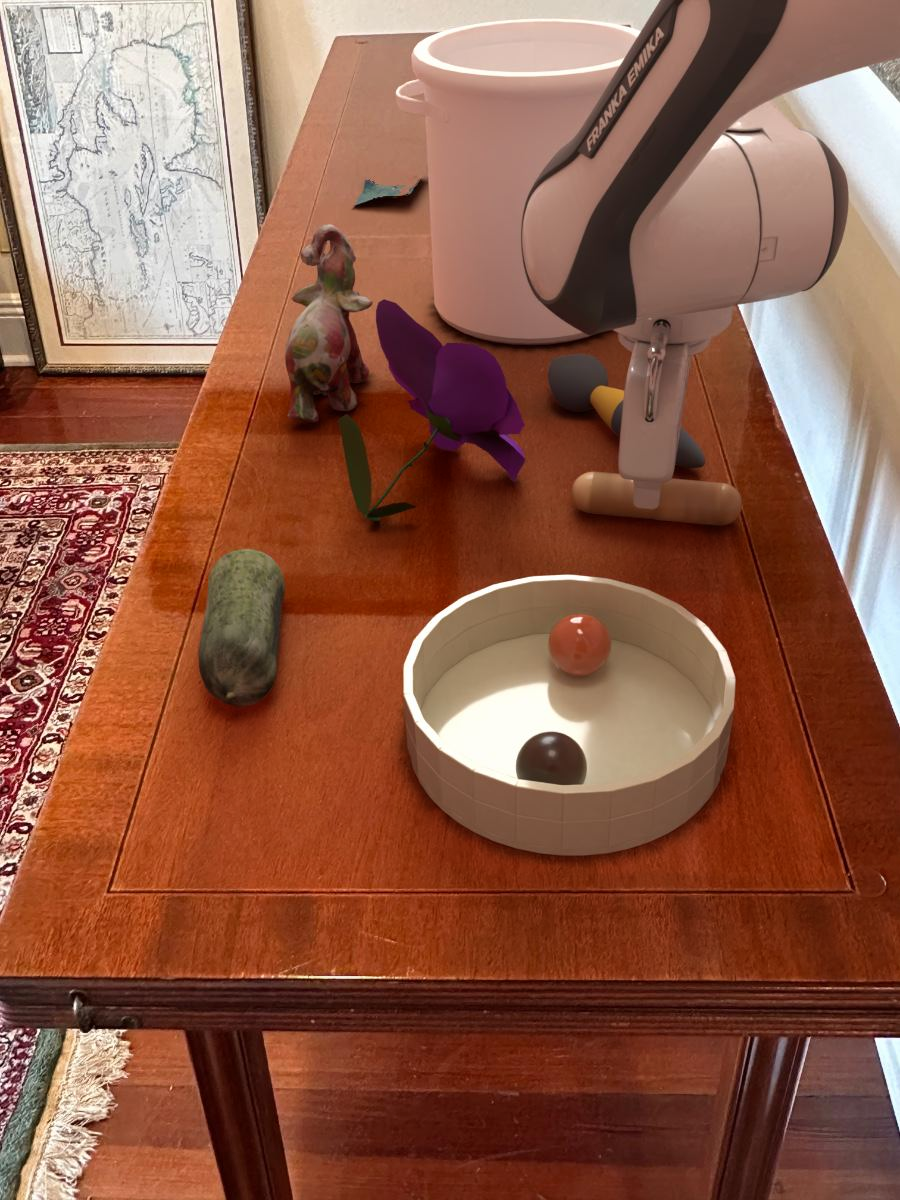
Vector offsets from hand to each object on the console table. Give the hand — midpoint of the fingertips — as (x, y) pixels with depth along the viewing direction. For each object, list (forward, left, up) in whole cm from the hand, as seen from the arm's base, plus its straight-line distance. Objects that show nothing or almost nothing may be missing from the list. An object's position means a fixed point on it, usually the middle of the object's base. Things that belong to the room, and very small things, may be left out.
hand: (652, 469), depth 89 cm
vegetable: (+25, +22, -4) cm, 33 cm away
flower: (+18, 0, -4) cm, 18 cm away
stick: (0, 0, -4) cm, 4 cm away
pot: (+16, -37, -4) cm, 40 cm away
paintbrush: (+4, -13, -4) cm, 14 cm away
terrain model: (+39, -70, -4) cm, 80 cm away
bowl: (+3, +25, -4) cm, 25 cm away
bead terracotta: (+3, +19, -2) cm, 20 cm away
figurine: (+31, -14, -4) cm, 34 cm away
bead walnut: (+3, +30, -2) cm, 31 cm away
